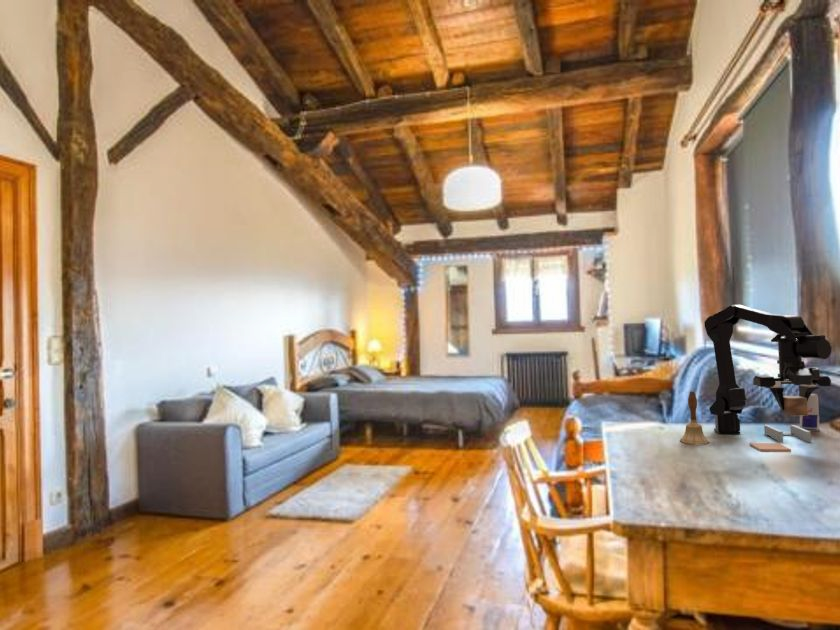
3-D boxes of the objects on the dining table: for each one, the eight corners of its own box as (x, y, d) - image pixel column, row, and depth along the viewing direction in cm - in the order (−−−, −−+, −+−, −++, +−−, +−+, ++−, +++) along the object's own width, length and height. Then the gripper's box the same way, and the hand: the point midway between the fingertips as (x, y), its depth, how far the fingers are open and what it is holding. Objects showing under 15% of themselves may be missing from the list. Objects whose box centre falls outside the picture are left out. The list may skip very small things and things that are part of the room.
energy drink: (796, 429, 185) (794, 394, 185) (806, 427, 187) (804, 392, 187) (813, 432, 180) (811, 395, 180) (823, 430, 182) (821, 394, 182)
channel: (778, 441, 169) (778, 431, 169) (764, 434, 180) (764, 424, 180) (811, 441, 167) (810, 431, 167) (794, 434, 178) (794, 424, 178)
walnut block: (788, 415, 159) (787, 398, 159) (780, 412, 164) (780, 395, 164) (807, 415, 158) (806, 398, 158) (799, 412, 163) (798, 395, 163)
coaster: (760, 451, 158) (759, 449, 158) (749, 444, 166) (749, 443, 166) (791, 451, 156) (790, 449, 156) (779, 445, 164) (778, 443, 164)
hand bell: (714, 444, 168) (711, 392, 169) (687, 445, 169) (684, 393, 169) (701, 438, 177) (698, 389, 177) (675, 439, 177) (673, 390, 177)
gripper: (767, 360, 156) (769, 414, 156) (840, 358, 152) (843, 414, 152) (751, 357, 167) (753, 408, 167) (819, 355, 163) (822, 408, 163)
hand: (792, 409), depth 162 cm, fingers closed on walnut block, 5 cm apart
